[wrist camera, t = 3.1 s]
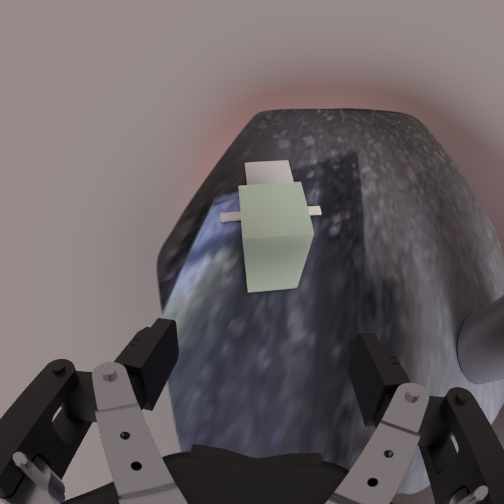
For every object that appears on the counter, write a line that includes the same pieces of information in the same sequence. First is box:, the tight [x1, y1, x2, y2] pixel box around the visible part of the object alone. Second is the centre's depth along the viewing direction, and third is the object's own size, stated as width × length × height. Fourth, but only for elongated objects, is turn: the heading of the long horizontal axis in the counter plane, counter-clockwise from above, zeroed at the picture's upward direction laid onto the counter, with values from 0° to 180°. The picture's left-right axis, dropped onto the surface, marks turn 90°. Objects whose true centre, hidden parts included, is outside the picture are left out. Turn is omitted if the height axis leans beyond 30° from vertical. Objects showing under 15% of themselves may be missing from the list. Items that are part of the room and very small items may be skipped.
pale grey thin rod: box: [220, 206, 322, 222], centre depth 32 cm, size 12×1×1 cm, turn 95°
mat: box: [245, 160, 294, 185], centre depth 35 cm, size 6×6×1 cm
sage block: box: [238, 182, 314, 292], centre depth 24 cm, size 5×5×10 cm
